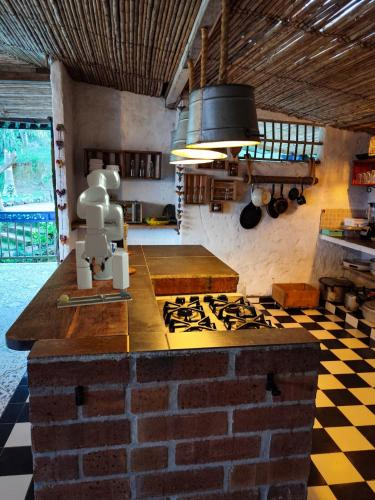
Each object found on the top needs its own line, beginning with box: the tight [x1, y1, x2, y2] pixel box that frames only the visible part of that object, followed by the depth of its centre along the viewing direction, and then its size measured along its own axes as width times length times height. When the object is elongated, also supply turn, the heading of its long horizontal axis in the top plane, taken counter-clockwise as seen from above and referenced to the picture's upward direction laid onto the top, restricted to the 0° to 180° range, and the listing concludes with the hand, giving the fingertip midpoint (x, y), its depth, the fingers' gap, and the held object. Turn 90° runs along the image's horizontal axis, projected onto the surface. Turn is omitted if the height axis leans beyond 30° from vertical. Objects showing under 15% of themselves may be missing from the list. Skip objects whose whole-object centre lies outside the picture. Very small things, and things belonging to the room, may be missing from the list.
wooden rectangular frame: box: [102, 292, 132, 303], centre depth 166 cm, size 6×12×1 cm, turn 109°
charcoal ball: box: [119, 288, 129, 297], centre depth 166 cm, size 4×4×4 cm
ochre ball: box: [59, 294, 70, 303], centre depth 158 cm, size 4×4×4 cm
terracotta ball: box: [93, 264, 102, 273], centre depth 160 cm, size 4×4×4 cm
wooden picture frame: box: [56, 294, 103, 307], centre depth 160 cm, size 6×20×1 cm, turn 109°
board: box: [56, 292, 133, 309], centre depth 164 cm, size 12×33×2 cm, turn 109°
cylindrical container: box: [74, 240, 93, 290], centre depth 181 cm, size 7×7×25 cm
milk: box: [112, 247, 130, 290], centre depth 182 cm, size 6×6×22 cm
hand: (97, 271), depth 160 cm, fingers closed on terracotta ball, 3 cm apart
